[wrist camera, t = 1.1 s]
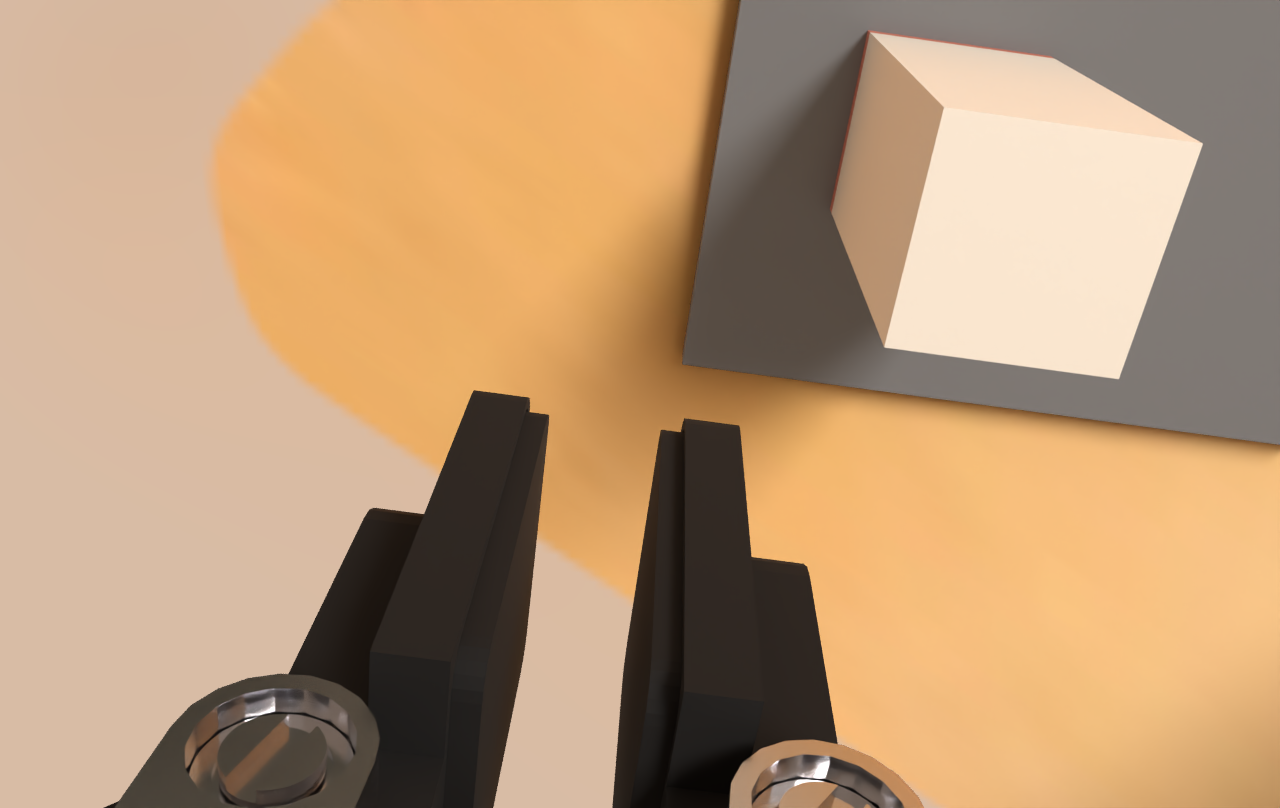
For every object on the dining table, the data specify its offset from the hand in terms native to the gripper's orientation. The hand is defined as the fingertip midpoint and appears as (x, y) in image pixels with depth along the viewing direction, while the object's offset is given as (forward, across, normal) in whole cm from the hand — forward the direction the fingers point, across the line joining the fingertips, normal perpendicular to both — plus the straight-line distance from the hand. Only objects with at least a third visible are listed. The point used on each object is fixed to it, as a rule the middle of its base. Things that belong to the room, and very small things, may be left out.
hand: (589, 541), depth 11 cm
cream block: (+22, -8, 0) cm, 24 cm away
